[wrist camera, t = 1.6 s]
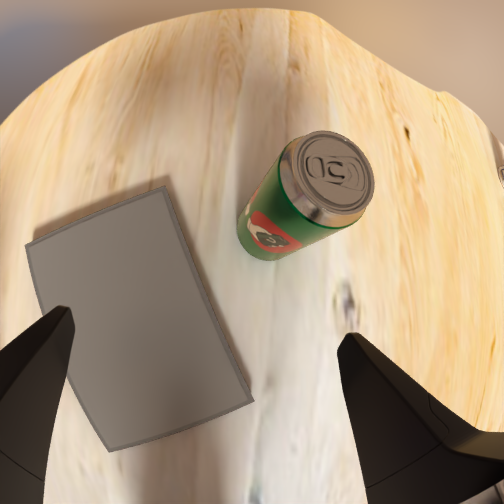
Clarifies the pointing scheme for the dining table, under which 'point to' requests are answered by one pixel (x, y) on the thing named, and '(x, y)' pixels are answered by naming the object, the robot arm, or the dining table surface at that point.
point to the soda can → (306, 196)
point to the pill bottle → (501, 174)
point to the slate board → (137, 322)
